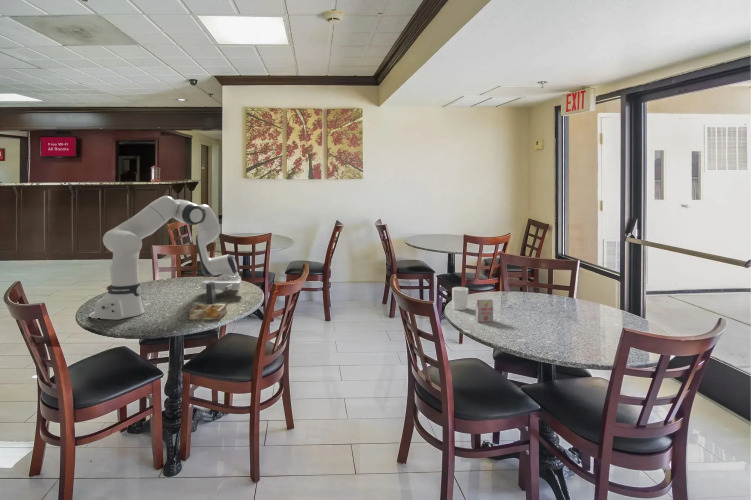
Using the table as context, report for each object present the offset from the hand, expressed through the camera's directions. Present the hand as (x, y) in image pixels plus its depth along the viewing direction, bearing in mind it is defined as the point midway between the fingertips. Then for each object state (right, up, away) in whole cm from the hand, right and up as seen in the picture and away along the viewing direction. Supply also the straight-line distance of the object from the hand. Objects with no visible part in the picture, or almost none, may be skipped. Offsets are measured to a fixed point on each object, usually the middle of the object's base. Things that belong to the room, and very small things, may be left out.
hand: (217, 288), depth 236 cm
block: (0, -9, -10) cm, 13 cm away
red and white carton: (+129, -13, -29) cm, 133 cm away
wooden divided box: (+4, -11, -24) cm, 26 cm away
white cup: (+122, -10, -9) cm, 123 cm away
